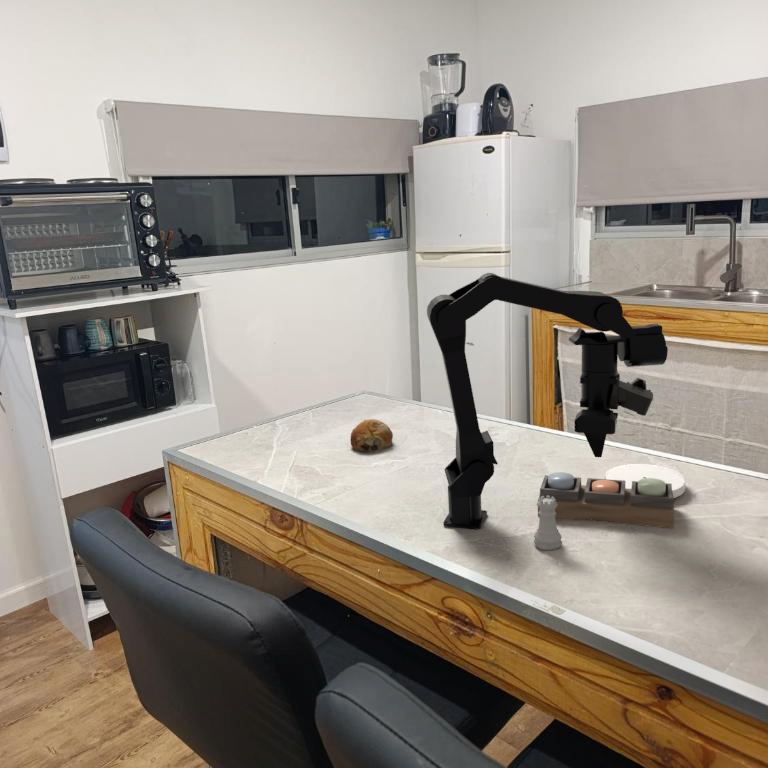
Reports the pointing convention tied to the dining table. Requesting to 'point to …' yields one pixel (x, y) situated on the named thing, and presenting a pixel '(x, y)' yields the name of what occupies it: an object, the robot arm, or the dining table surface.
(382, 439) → the bread roll
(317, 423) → the dining table surface
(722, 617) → the dining table surface
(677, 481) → the plastic lid
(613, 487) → the terracotta button
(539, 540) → the rook chess piece
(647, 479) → the sage button
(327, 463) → the dining table surface
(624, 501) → the button panel
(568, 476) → the slate-blue button
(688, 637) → the dining table surface
